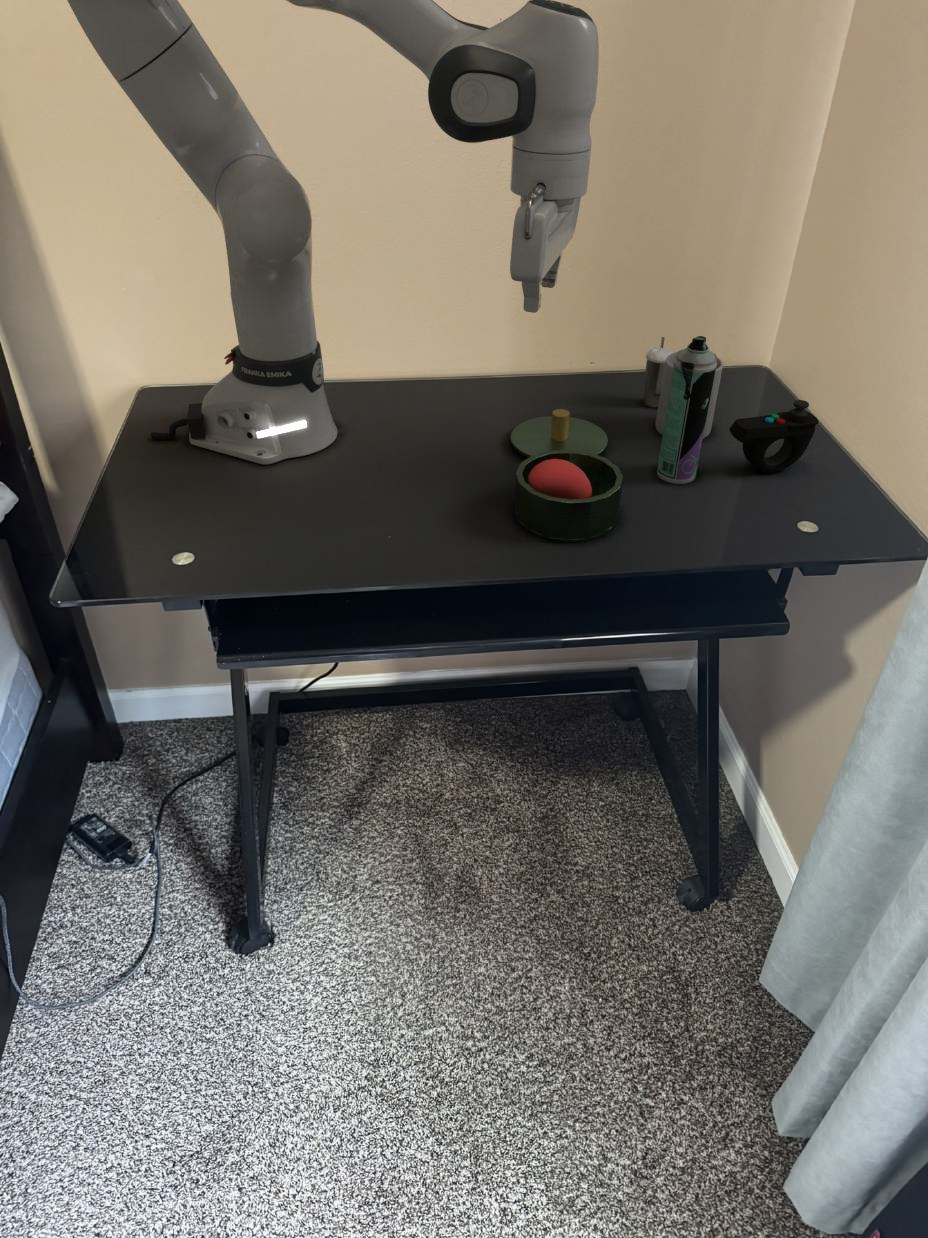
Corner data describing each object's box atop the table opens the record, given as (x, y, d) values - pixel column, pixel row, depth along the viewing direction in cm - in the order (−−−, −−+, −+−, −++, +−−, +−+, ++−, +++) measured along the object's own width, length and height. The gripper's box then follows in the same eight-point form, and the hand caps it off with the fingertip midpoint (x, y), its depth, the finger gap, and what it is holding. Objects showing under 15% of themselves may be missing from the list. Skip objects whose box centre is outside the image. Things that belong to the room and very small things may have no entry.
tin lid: (499, 460, 129) (500, 428, 126) (522, 417, 140) (524, 386, 137) (598, 474, 126) (601, 441, 122) (614, 429, 137) (617, 398, 133)
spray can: (695, 485, 123) (722, 347, 111) (656, 481, 124) (677, 343, 111) (695, 467, 127) (721, 331, 115) (657, 463, 128) (678, 328, 116)
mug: (650, 416, 140) (660, 349, 133) (703, 416, 140) (716, 349, 133) (664, 452, 131) (675, 383, 124) (721, 452, 131) (736, 382, 124)
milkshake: (668, 396, 146) (677, 337, 139) (667, 410, 142) (676, 350, 135) (641, 394, 147) (649, 335, 140) (638, 407, 142) (646, 348, 136)
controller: (810, 471, 126) (828, 407, 120) (731, 481, 124) (745, 416, 118) (794, 457, 129) (811, 394, 123) (717, 467, 127) (730, 403, 121)
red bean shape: (522, 476, 118) (533, 445, 112) (587, 486, 119) (601, 456, 113) (521, 507, 115) (532, 477, 110) (587, 517, 116) (601, 488, 111)
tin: (504, 533, 114) (505, 492, 110) (528, 482, 124) (530, 443, 120) (608, 549, 111) (613, 509, 107) (624, 496, 121) (629, 457, 117)
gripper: (557, 198, 91) (547, 329, 100) (592, 159, 106) (580, 276, 115) (499, 193, 92) (494, 323, 101) (541, 155, 108) (534, 270, 116)
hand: (540, 297), depth 108 cm, fingers open, 8 cm apart
